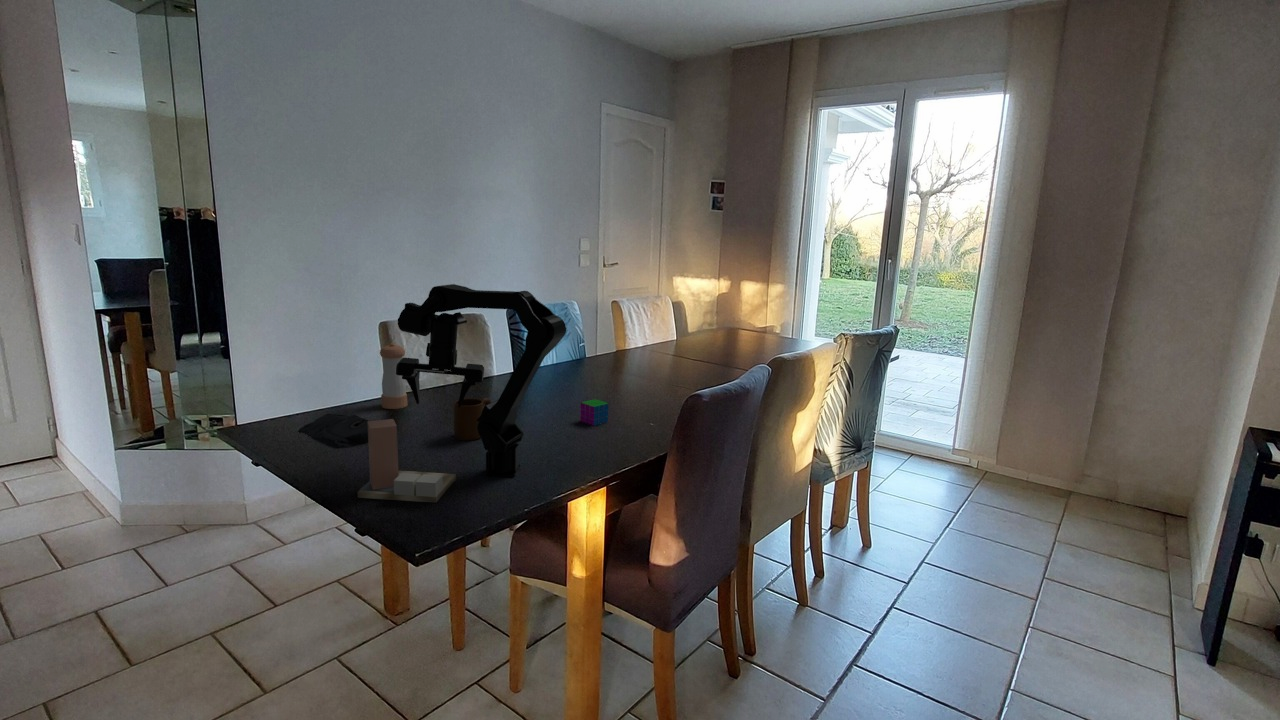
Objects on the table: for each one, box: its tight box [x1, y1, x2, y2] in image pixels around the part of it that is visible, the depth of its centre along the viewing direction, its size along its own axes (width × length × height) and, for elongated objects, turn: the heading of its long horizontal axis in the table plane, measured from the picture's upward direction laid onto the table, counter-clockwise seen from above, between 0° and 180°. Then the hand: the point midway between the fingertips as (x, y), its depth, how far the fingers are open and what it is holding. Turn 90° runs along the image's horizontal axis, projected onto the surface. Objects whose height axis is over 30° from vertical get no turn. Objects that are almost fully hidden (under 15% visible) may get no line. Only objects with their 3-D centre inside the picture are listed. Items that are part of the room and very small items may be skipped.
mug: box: [453, 397, 492, 441], centre depth 166 cm, size 12×8×9 cm, turn 152°
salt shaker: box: [379, 342, 408, 410], centre depth 186 cm, size 7×7×19 cm
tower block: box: [367, 418, 399, 490], centre depth 129 cm, size 5×5×13 cm
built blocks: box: [394, 473, 443, 497], centre depth 127 cm, size 8×4×3 cm, turn 87°
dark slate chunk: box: [298, 413, 369, 449], centre depth 163 cm, size 15×22×5 cm
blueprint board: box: [357, 470, 457, 503], centre depth 132 cm, size 16×12×1 cm
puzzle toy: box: [579, 398, 610, 426], centre depth 182 cm, size 6×6×6 cm
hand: (438, 405), depth 145 cm, fingers open, 9 cm apart
